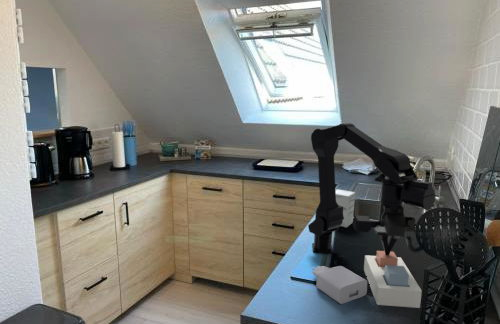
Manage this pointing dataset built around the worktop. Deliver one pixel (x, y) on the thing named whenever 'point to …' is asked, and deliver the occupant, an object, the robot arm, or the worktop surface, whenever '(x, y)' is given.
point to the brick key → (386, 259)
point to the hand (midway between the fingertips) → (386, 254)
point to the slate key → (396, 276)
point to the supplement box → (346, 205)
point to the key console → (391, 293)
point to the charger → (340, 283)
